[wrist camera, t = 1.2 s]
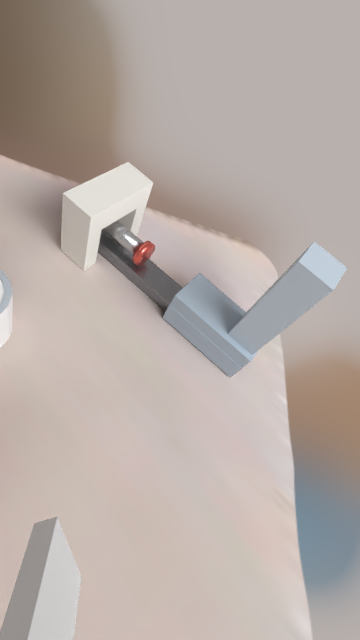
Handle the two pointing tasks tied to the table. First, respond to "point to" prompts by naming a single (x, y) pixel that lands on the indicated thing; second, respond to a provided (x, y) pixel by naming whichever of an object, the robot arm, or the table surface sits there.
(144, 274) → the rail
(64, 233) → the arch
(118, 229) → the plunger
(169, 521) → the table surface
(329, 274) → the carriage
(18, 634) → the robot arm
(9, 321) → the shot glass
